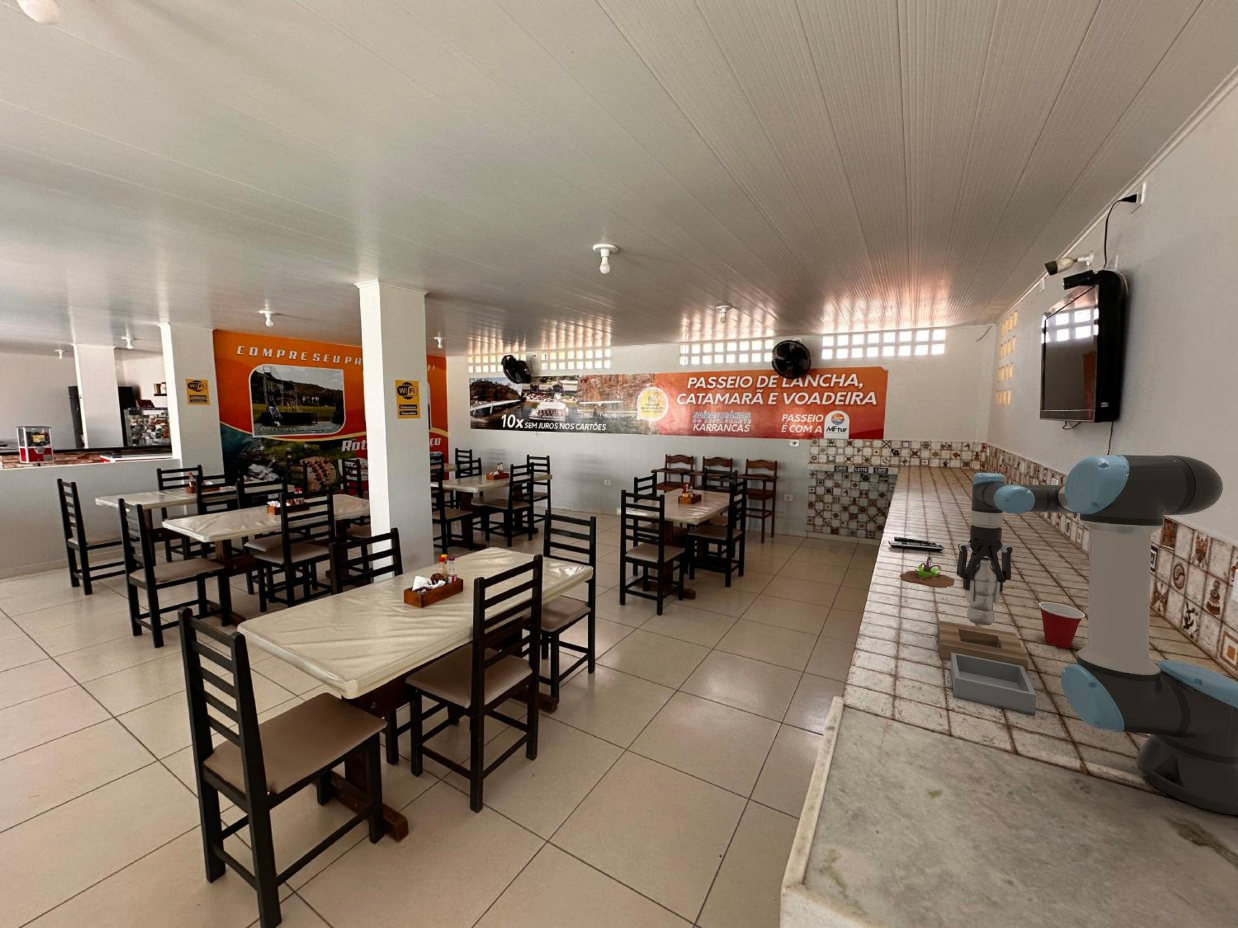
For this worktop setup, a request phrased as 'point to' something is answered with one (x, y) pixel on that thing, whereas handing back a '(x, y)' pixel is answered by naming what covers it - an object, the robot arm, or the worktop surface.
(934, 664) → the worktop surface
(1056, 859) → the worktop surface
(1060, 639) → the plastic cup
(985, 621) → the plastic bottle
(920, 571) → the plant
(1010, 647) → the walnut frame
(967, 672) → the slate tray
